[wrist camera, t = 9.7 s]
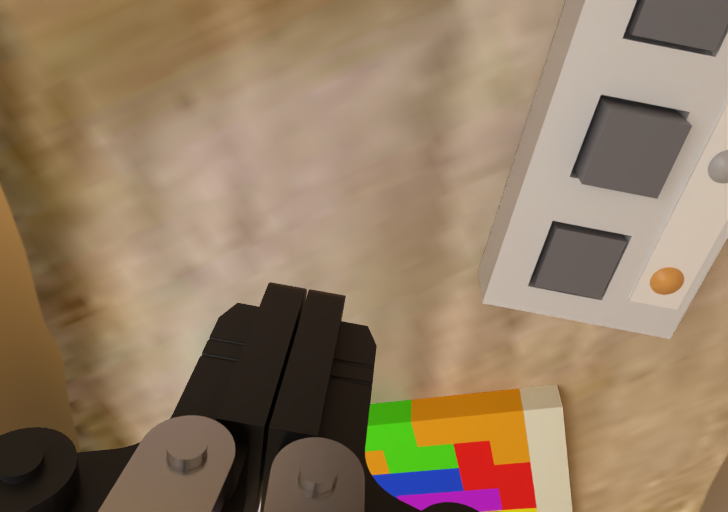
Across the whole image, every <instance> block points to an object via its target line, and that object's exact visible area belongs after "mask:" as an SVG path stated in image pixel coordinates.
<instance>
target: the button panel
mask: <svg viewBox="0 0 728 512" xmlns="http://www.w3.org/2000/svg"><path fill="white" fill-rule="evenodd" d="M636 2H637V0H566V2H565V5H564V8H563V11H562V14H561V17H560V20H559V23H558V27H557V30H556V33H555V36H554V39H553V42H552V45H551V48H550V51H549V54H548V57H547V60H546V64H545V67H544V70H543V73H542V76H541V79H540V82H539V85H538V88H537V91H536V94H535V97H534V101H533V104H532V107H531V110H530V113H529V116H528V119H527V122H526V125H525V128H524V131H523V135H522V138H521V141H520V144H519V147H518V150H517V153H516V156H515V159H514V162H513V165H512V168H511V172H510V175H509V178H508V181H507V184H506V187H505V190H504V193H503V196H502V199H501V202H500V205H499V209H498V212H497V215H496V218H495V221H494V224H493V227H492V230H491V233H490V236H489V239H488V243H487V246H486V249H485V252H484V255H483V258H482V261H481V264H480V267H479V270H478V273H479V281H480V288H481V296H482V303H484V304H490V305H495V306H500V307H505V308H510V309H516V310H521V311H526V312H531V313H537V314H542V315H547V316H552V317H557V318H563V319H568V320H573V321H578V322H584V323H589V324H594V325H599V326H604V327H610V328H615V329H620V330H625V331H630V332H636V333H641V334H646V335H651V336H657V337H662V338H667V339H670V338H671V337H672V335H673V333H674V331H675V330H676V328H677V326H678V324H679V323H680V321H681V319H682V317H683V316H684V314H685V312H686V310H687V308H688V307H689V305H690V303H691V301H692V300H693V298H694V296H695V294H696V293H697V291H698V289H699V287H700V286H701V284H702V282H703V280H704V278H705V277H706V275H707V273H708V271H709V270H710V268H711V266H712V264H713V263H714V261H715V259H716V257H717V256H718V254H719V252H720V250H721V248H722V247H723V245H724V243H725V241H726V240H727V238H728V25H727V27H726V30H725V32H724V34H723V36H722V38H721V40H720V43H719V45H718V47H717V49H716V51H710V50H705V49H700V48H695V47H690V46H685V45H680V44H675V43H669V42H664V41H659V40H654V39H649V38H644V37H639V36H634V35H631V34H630V33H629V32H627V31H626V28H627V25H628V22H629V20H630V17H631V15H632V12H633V9H634V7H635V4H636ZM601 95H606V96H611V97H616V98H621V99H626V100H631V101H636V102H641V103H646V104H652V105H657V106H662V107H667V108H672V109H675V110H676V111H677V112H678V113H679V114H681V115H682V116H683V117H684V118H685V119H686V120H687V121H688V122H689V123H690V124H691V125H692V127H691V129H690V132H689V134H688V136H687V138H686V140H685V142H684V144H683V146H682V148H681V150H680V153H679V155H678V157H677V159H676V161H675V163H674V165H673V167H672V169H671V171H670V174H669V176H668V178H667V180H666V182H665V184H664V186H663V188H662V190H661V192H660V195H659V197H658V199H656V198H651V197H646V196H640V195H635V194H630V193H625V192H620V191H615V190H610V189H604V188H599V187H594V186H589V185H584V184H581V182H580V180H579V178H578V176H577V174H576V172H575V170H574V168H573V166H574V164H575V161H576V159H577V156H578V153H579V151H580V148H581V145H582V143H583V140H584V138H585V135H586V132H587V130H588V127H589V125H590V122H591V119H592V117H593V114H594V111H595V109H596V106H597V104H598V101H599V98H600V96H601ZM552 221H557V222H562V223H567V224H572V225H577V226H582V227H588V228H593V229H598V230H603V231H608V232H613V233H619V234H623V236H624V238H625V240H626V241H627V243H626V245H625V247H624V249H623V251H622V253H621V256H620V258H619V260H618V262H617V264H616V266H615V268H614V271H613V273H612V275H611V277H610V279H609V281H608V284H607V286H606V288H605V290H604V292H603V294H602V296H601V299H598V298H593V297H588V296H582V295H577V294H572V293H567V292H562V291H556V290H551V289H546V288H541V287H536V286H534V283H533V279H532V274H533V271H534V268H535V266H536V263H537V261H538V258H539V255H540V253H541V250H542V247H543V245H544V242H545V240H546V237H547V234H548V232H549V229H550V227H551V224H552Z"/></svg>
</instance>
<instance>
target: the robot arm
mask: <svg viewBox="0 0 728 512" xmlns="http://www.w3.org/2000/svg"><path fill="white" fill-rule="evenodd" d="M306 294H307V289H304V288H299V287H293V286H287V285H282V284H276V283H271V282H270V283H269V284H268V286H267V289H266V291H265V294H264V296H263V299H262V302H261V304H260V307H257V306H252V305H246V304H241V303H237V304H236V305H234V306H233V307H232V308H230V309H229V310H228V311H227V312H225V313H224V314H223V315H222V316H220V317H219V318H218V321H217V323H216V325H215V327H214V329H213V331H212V333H211V335H210V339H209V340H208V342H207V344H206V346H205V348H204V350H203V352H202V356H200V358H199V360H198V362H197V365H196V367H195V369H194V371H193V373H192V375H191V377H190V379H189V381H188V383H187V385H186V388H185V390H184V392H183V394H182V396H181V398H180V400H179V402H178V404H177V406H176V408H175V411H174V413H173V415H172V416H171V418H170V419H169V420H166V421H164V422H162V423H160V424H158V425H157V426H155V427H154V428H153V429H151V430H150V431H149V432H148V433H147V434H146V435H145V437H144V438H143V439H142V441H141V442H140V443H137V444H135V445H132V446H128V447H124V448H118V449H110V450H100V451H90V452H79V453H77V452H76V448H75V446H74V444H73V442H72V441H71V440H70V439H69V438H68V437H67V436H66V435H64V434H62V433H61V432H58V431H56V430H53V429H48V428H40V427H36V428H25V429H18V430H15V431H11V432H9V433H6V434H4V435H1V436H0V512H258V510H259V506H260V502H261V507H260V512H479V511H478V510H476V509H474V508H472V507H469V506H467V505H464V504H460V503H454V502H441V503H436V504H433V505H430V506H428V507H427V508H425V509H423V510H422V511H421V510H419V509H417V508H415V507H413V506H411V505H409V504H407V503H405V502H403V501H401V500H399V499H397V498H396V497H394V496H392V495H391V494H389V493H388V492H387V491H385V490H384V489H383V488H382V487H381V486H380V485H379V484H378V483H377V482H376V480H375V479H374V478H373V476H372V474H371V473H370V471H369V469H368V466H367V463H366V458H365V446H366V436H367V427H368V418H369V409H370V400H371V391H372V382H373V372H374V363H375V354H376V343H375V341H374V339H373V337H372V335H371V332H370V330H369V328H368V326H364V325H358V324H353V323H347V322H342V321H341V320H342V314H343V309H344V303H345V297H346V296H344V295H338V294H333V293H327V292H322V291H316V290H310V289H309V291H308V295H307V298H306Z"/></svg>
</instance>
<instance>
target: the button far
mask: <svg viewBox="0 0 728 512" xmlns="http://www.w3.org/2000/svg"><path fill="white" fill-rule="evenodd" d="M626 243H627V241H626V240H625V238H624V236H623V234H619V233H613V232H608V231H603V230H598V229H593V228H588V227H582V226H577V225H572V224H567V223H562V222H557V221H552V224H551V227H550V229H549V232H548V234H547V237H546V240H545V242H544V245H543V247H542V250H541V253H540V255H539V258H538V261H537V263H536V266H535V268H534V271H533V274H532V279H533V283H534V286H536V287H541V288H546V289H551V290H556V291H562V292H567V293H572V294H577V295H582V296H588V297H593V298H598V299H601V296H602V294H603V292H604V290H605V288H606V286H607V284H608V281H609V279H610V277H611V275H612V273H613V271H614V268H615V266H616V264H617V262H618V260H619V258H620V256H621V253H622V251H623V249H624V247H625V245H626Z"/></svg>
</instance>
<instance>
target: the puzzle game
mask: <svg viewBox="0 0 728 512" xmlns="http://www.w3.org/2000/svg"><path fill="white" fill-rule="evenodd" d="M365 458H366V463H367V466H368V469H369V471H370V473H371V474H372V476H373V478H374V479H375V480H376V482H377V483H378V484H379V485H380V486H381V487H382V488H383V489H384V490H385V491H387V492H388V493H389V494H391V495H392V496H394V497H396V498H397V499H399V500H401V501H403V502H405V503H407V504H409V505H411V506H413V507H415V508H417V509H419V510H421V511H422V510H423V509H425V508H427V507H428V506H430V505H433V504H436V503H441V502H454V503H460V504H464V505H467V506H469V507H472V508H474V509H476V510H478V511H479V512H572V501H571V491H570V480H569V469H568V459H567V448H566V438H565V427H564V416H563V406H562V402H561V399H560V395H559V391H558V387H557V385H549V386H539V387H529V388H520V389H510V390H501V391H491V392H482V393H472V394H463V395H453V396H444V397H434V398H425V399H415V400H406V401H396V402H387V403H377V404H370V409H369V418H368V427H367V436H366V446H365ZM260 507H261V502H260V506H259V510H258V512H260Z"/></svg>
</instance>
